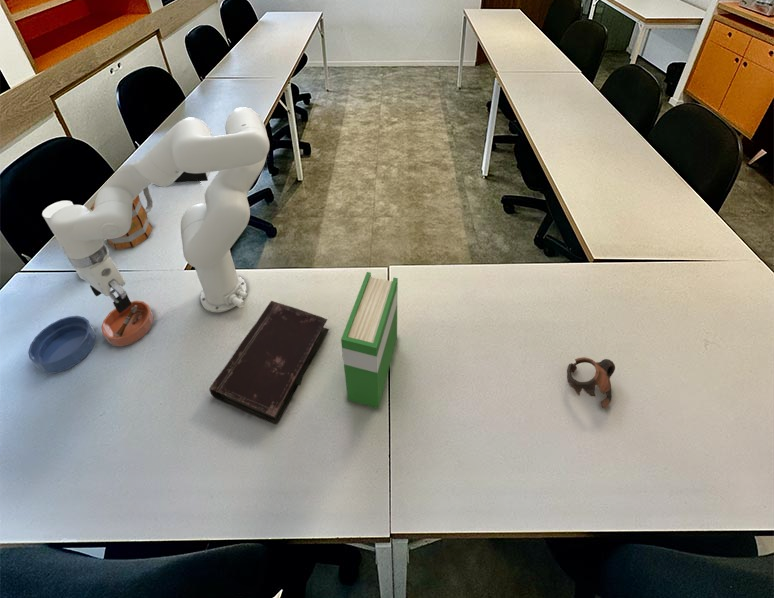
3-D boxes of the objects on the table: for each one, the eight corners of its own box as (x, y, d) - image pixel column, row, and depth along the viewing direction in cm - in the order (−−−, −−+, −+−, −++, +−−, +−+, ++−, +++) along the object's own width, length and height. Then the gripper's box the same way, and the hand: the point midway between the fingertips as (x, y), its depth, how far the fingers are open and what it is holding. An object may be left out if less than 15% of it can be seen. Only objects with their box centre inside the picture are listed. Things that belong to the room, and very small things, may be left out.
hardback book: (369, 332, 112) (366, 271, 99) (396, 339, 111) (397, 278, 98) (347, 400, 98) (341, 339, 85) (378, 408, 97) (376, 348, 83)
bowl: (107, 340, 111) (100, 329, 109) (54, 383, 102) (45, 373, 99) (79, 318, 117) (72, 308, 114) (26, 357, 107) (17, 347, 105)
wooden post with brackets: (147, 309, 117) (136, 305, 114) (129, 339, 113) (117, 336, 110) (142, 307, 118) (131, 303, 114) (124, 337, 114) (112, 333, 110)
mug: (134, 252, 136) (117, 218, 128) (98, 246, 139) (79, 211, 131) (172, 212, 152) (159, 179, 144) (139, 207, 155) (125, 174, 147)
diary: (211, 397, 99) (206, 386, 96) (271, 310, 118) (268, 298, 116) (280, 428, 93) (277, 417, 91) (331, 331, 113) (330, 319, 110)
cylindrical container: (87, 283, 126) (50, 221, 113) (74, 273, 130) (37, 211, 116) (110, 267, 131) (78, 206, 118) (98, 258, 135) (65, 197, 121)
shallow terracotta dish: (162, 319, 116) (158, 312, 114) (122, 353, 108) (118, 346, 106) (136, 301, 121) (133, 294, 119) (97, 333, 113) (92, 326, 111)
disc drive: (161, 183, 166) (157, 173, 164) (180, 151, 185) (177, 142, 182) (207, 181, 168) (204, 171, 165) (221, 149, 186) (218, 140, 184)
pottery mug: (599, 421, 95) (587, 395, 92) (565, 396, 103) (554, 372, 101) (632, 383, 98) (621, 358, 96) (597, 362, 107) (586, 338, 105)
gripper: (126, 256, 98) (148, 303, 107) (83, 229, 105) (107, 276, 114) (93, 279, 92) (119, 326, 102) (51, 249, 100) (79, 296, 109)
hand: (113, 300), depth 108 cm, fingers open, 9 cm apart
